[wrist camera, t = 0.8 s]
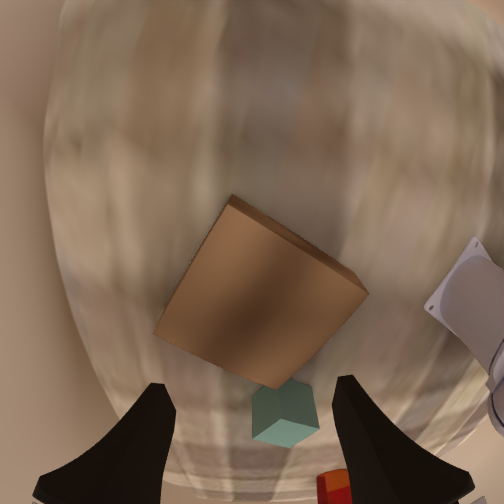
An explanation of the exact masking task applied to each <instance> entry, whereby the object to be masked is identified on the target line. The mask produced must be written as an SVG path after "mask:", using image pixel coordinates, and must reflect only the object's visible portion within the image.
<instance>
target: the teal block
mask: <svg viewBox="0 0 504 504" xmlns="http://www.w3.org/2000/svg"><path fill="white" fill-rule="evenodd" d="M319 429H320V428H319V422H318V417H317V412H316V407H315V402H314V397H313V392H312V387H311V386H308V385H305V384H302V383H300V382H297V381H294V380H292V379H288V380H287V381H286V382H285V383H284V384H283V385H281V386H280V387H279V388H278V389H277V390H275V389H273V388H270V387H267V386H265V385H264V386H263V387H262V388H261V389H260V390H259V391H258V392H257V393H256V394H255V395H253V396H252V439H254V440H258V441H262V442H266V443H270V444H274V445H278V446H283V447H288V448H290V447H292V446H294V445H295V444H297V443H299V442H300V441H302V440H303V439H305V438H307V437H308V436H310V435H311V434H313V433H314V432H316V431H317V430H319Z"/></svg>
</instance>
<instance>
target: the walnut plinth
mask: <svg viewBox="0 0 504 504" xmlns="http://www.w3.org/2000/svg"><path fill="white" fill-rule="evenodd" d="M368 295H369V293H368V292H367V290H366V289H365V287H364V286H363V284H362V283H361V282H360V280H359V279H358V277H357V276H356V275H355V273H354V272H352V271H351V270H349V269H348V268H346V267H345V266H343V265H342V264H340V263H339V262H337V261H336V260H334V259H333V258H331V257H330V256H328V255H327V254H325V253H324V252H322V251H321V250H319V249H318V248H316V247H315V246H313V245H312V244H310V243H309V242H307V241H306V240H304V239H303V238H301V237H300V236H298V235H296V234H295V233H293V232H292V231H290V230H289V229H287V228H286V227H284V226H282V225H281V224H279V223H278V222H276V221H275V220H273V219H271V218H270V217H268V216H267V215H265V214H263V213H262V212H260V211H259V210H257V209H255V208H254V207H252V206H251V205H249V204H247V203H246V202H244V201H242V200H241V199H239V198H237V197H236V196H234V195H233V194H232V195H231V197H230V198H229V200H228V202H227V203H226V205H225V206H224V208H223V210H222V211H221V213H220V215H219V216H218V218H217V219H216V221H215V223H214V224H213V226H212V228H211V229H210V231H209V233H208V234H207V236H206V238H205V239H204V241H203V243H202V244H201V246H200V248H199V249H198V251H197V253H196V255H195V256H194V258H193V260H192V261H191V263H190V265H189V267H188V268H187V270H186V272H185V274H184V275H183V277H182V279H181V281H180V282H179V284H178V286H177V288H176V290H175V291H174V293H173V295H172V297H171V299H170V300H169V302H168V304H167V306H166V308H165V310H164V312H163V314H162V316H161V318H160V320H159V322H158V324H157V326H156V328H155V330H154V332H153V334H154V335H156V336H158V337H160V338H162V339H164V340H166V341H167V342H169V343H171V344H173V345H175V346H177V347H179V348H181V349H183V350H185V351H187V352H189V353H191V354H193V355H195V356H197V357H199V358H201V359H203V360H206V361H208V362H210V363H212V364H214V365H216V366H219V367H221V368H223V369H225V370H228V371H230V372H232V373H235V374H237V375H240V376H242V377H244V378H247V379H249V380H252V381H254V382H257V383H259V384H262V385H265V386H267V387H270V388H273V389H275V390H277V389H278V388H279V387H280V386H281V385H283V384H284V383H285V382H286V381H287V380H288V379H289V378H290V377H291V376H292V375H293V374H295V373H296V372H297V371H298V370H299V369H300V368H301V367H302V366H303V365H304V364H305V363H306V362H307V361H308V360H309V359H310V358H311V357H312V356H313V355H314V354H315V353H316V352H317V351H318V350H319V349H320V348H321V347H322V346H323V345H324V344H325V343H326V342H327V341H328V340H329V339H330V338H331V337H332V336H333V335H334V334H335V333H336V331H337V330H338V329H339V328H340V327H341V326H342V325H343V324H344V323H345V322H346V321H347V319H348V318H349V317H350V316H351V315H352V314H353V313H354V312H355V310H356V309H357V308H358V307H359V306H360V305H361V304H362V302H363V301H364V300H365V299H366V298H367V296H368Z"/></svg>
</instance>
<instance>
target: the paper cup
mask: <svg viewBox="0 0 504 504" xmlns="http://www.w3.org/2000/svg"><path fill="white" fill-rule="evenodd" d="M317 498H318V504H352V497H351V488H350V481H349V474H348V471H347V470H345V469H339V470H333V471H329V472H326V473H323V474H321V475H319V476H318V477H317Z"/></svg>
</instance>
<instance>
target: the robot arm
mask: <svg viewBox="0 0 504 504" xmlns="http://www.w3.org/2000/svg"><path fill="white" fill-rule="evenodd" d="M476 242H477V245H476V247H475V243H476ZM431 305H433V307H432V308H431V309H429V307H430V306H431ZM423 307H424V309H425V310H426V311H427V312H428V313H430V314H431V315H432V316H433V317H435V318H436V319H437V320H438V321H439V322H441V323H442V324H443V325H444V326H445V327H447V328H448V329H449V330H450V331H451V332H453V333H454V334H455V335H456V336H457V337H458V338H460V339H461V340H462V342H463V343H464V344H465V345H466V346H467V348H468V349H469V350H470V351H471V353H472V354H473V355H474V356H475V358H476V359H477V360H478V362H479V363H480V364H481V365H482V367H483V368H484V369H485V371H486V372H487V373H488V375H489V378H488V380H487V382H486V386H487V387H488V389H489V390H490V394H489V397H488V401H487V409H488V414H489V418H490V420H491V423H492V425H493V426H494V428H495V429H496V431H497V432H498V433H499V434H501V435H502V436H504V270H503V269H502V268H500V267H499V266H497V265H496V264H494V263H493V261H492V260H491V258H490V257H489V255H488V253H487V252H486V250H485V249H484V247H483V245H482V244H481V242H480V241H479V239H478V238H477V237H476V236H472V237H471V239H470V240H469V242H468V243H467V245H466V247H465V248H464V250H463V251H462V253H461V254H460V256H459V257H458V259H457V260H456V262H455V263H454V265H453V266H452V267H451V269H450V270H449V272H448V273H447V274H446V276H445V277H444V279H443V280H442V281H441V283H440V284H439V285H438V287H437V288H436V289H435V291H434V292H433V293H432V294H431V296H430V297H429V298H428V299H427V301H426V302H425V303H424V306H423ZM332 409H333V416H334V422H335V427H336V430H337V434H338V437H339V441H340V444H341V447H342V451H343V454H344V458H345V461H346V465H347V469H348V474H349V481H350V488H351V497H352V504H459V502H458V500H459V499H461V498H462V497H464V496H465V495H467V494H468V493H470V492H471V491H473V490H474V488H475V485H474V483H473V480H472V477H471V476H470V474H469V472H467V471H465V470H462V469H460V468H457V467H455V466H453V465H451V464H449V463H447V462H445V461H443V460H441V459H439V458H438V457H436V456H434V455H433V454H431V453H430V452H428V451H427V450H425V449H423V448H422V447H421V446H419V445H418V444H417V443H415V442H414V441H413V440H411V439H410V438H409V437H408V436H407V435H405V434H404V433H403V432H402V431H401V430H400V429H399V428H398V427H397V426H396V425H394V424H393V423H392V422H391V421H390V420H389V418H388V417H387V416H386V415H385V414H384V413H383V412H382V411H381V410H380V409H379V407H378V406H377V405H376V404H375V403H374V402H373V400H372V399H371V398H370V397H369V396H368V394H367V393H366V392H365V390H364V389H363V388H362V387H361V385H360V384H359V383H358V381H357V380H356V378H355V377H354V376H353V375H346V376H340V377H338V379H337V384H336V388H335V393H334V398H333V402H332ZM175 418H176V409H175V407H174V405H173V403H172V401H171V398H170V396H169V394H168V392H167V390H166V387H165V385H164V384H160V383H150V384H149V386H148V387H147V388H146V389H145V391H144V392H143V393H142V394H141V396H140V397H139V398H138V400H137V401H136V402H135V403H134V404H133V406H132V407H131V408H130V409H129V410H128V412H127V413H126V414H125V415H124V416H123V417H122V419H121V420H120V421H119V422H118V423H117V424H116V425H115V426H114V427H113V428H112V429H111V430H110V431H109V432H108V433H107V434H106V435H105V436H104V437H103V438H102V439H101V440H100V441H99V442H98V443H96V444H95V445H94V446H93V447H91V448H90V449H89V450H87V451H86V452H85V453H83V454H82V455H81V456H79V457H78V458H76V459H74V460H73V461H71V462H69V463H68V464H66V465H64V466H62V467H60V468H59V469H56V470H54V471H52V472H49V473H47V474H44V475H42V476H40V477H39V480H38V482H37V485H36V487H35V489H34V492H33V494H32V495H33V497H34V498H36V499H37V500H39V501H40V502H42V503H44V504H160V497H161V486H162V478H163V472H164V468H165V464H166V460H167V456H168V452H169V448H170V444H171V441H172V437H173V433H174V427H175ZM32 504H37V503H35V502H32ZM471 504H487V502H486V499H485V497H484V496H482V497H480V498H479V499H477V500H476V501H474V502H472V503H471Z"/></svg>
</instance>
